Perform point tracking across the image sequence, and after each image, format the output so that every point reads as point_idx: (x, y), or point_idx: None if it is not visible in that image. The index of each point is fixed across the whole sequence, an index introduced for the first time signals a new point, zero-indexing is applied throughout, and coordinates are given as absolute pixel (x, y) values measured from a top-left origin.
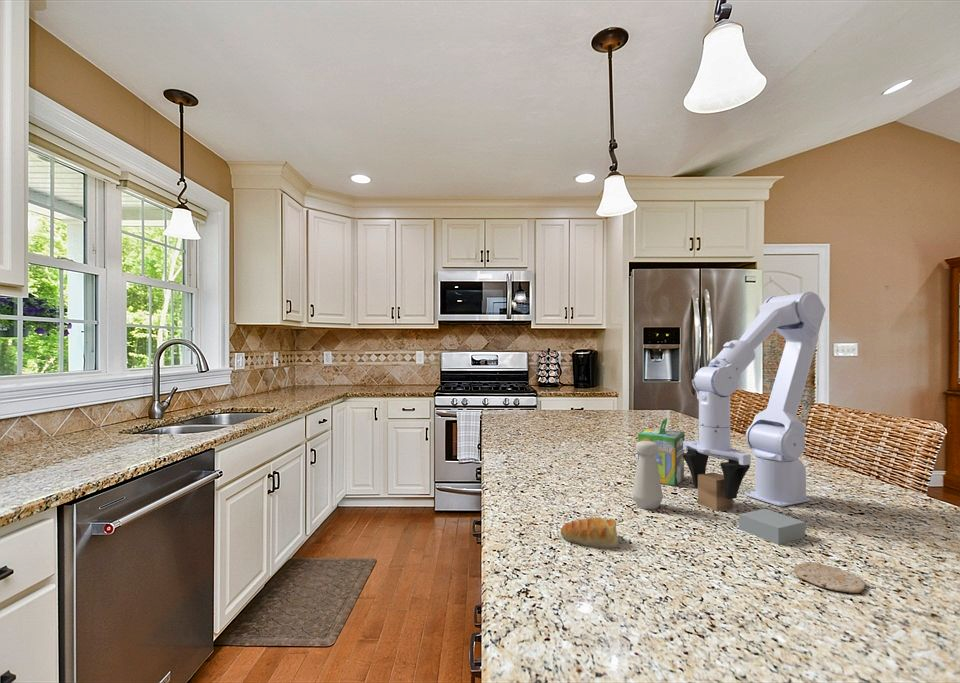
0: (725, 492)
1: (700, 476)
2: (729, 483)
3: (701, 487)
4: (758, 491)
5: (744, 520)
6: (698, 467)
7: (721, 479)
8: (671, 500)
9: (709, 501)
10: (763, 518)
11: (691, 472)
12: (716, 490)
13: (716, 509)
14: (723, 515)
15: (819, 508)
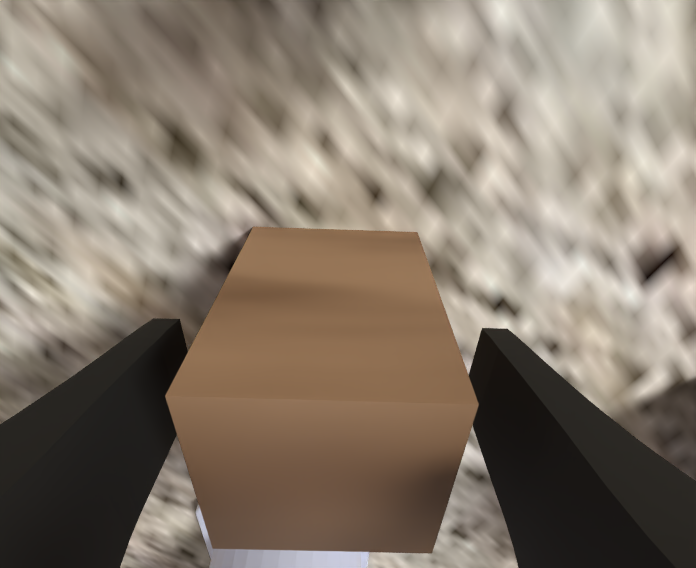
0: (150, 343)
1: (427, 392)
2: (10, 420)
3: (397, 307)
4: None
5: None
6: (567, 541)
7: (191, 461)
8: (595, 98)
9: (310, 251)
10: None
11: (605, 426)
12: (208, 314)
13: (253, 231)
14: (158, 190)
15: (162, 563)
